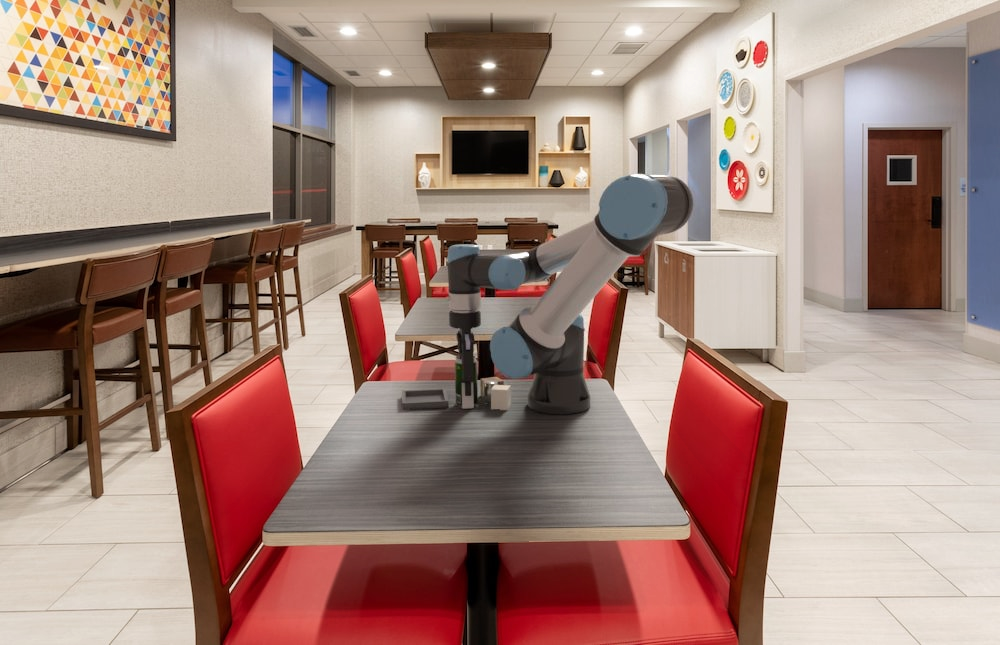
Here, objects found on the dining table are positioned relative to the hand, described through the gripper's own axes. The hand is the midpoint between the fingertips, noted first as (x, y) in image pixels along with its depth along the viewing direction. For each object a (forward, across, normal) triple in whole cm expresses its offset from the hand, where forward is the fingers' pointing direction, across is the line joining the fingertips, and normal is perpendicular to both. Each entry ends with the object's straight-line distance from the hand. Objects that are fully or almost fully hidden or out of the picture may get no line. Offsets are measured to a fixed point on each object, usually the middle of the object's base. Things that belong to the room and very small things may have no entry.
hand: (466, 403), depth 172 cm
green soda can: (+1, 0, 0) cm, 1 cm away
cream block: (0, +3, +8) cm, 9 cm away
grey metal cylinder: (0, -2, +6) cm, 6 cm away
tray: (0, -4, -10) cm, 11 cm away
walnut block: (0, -6, +7) cm, 9 cm away
